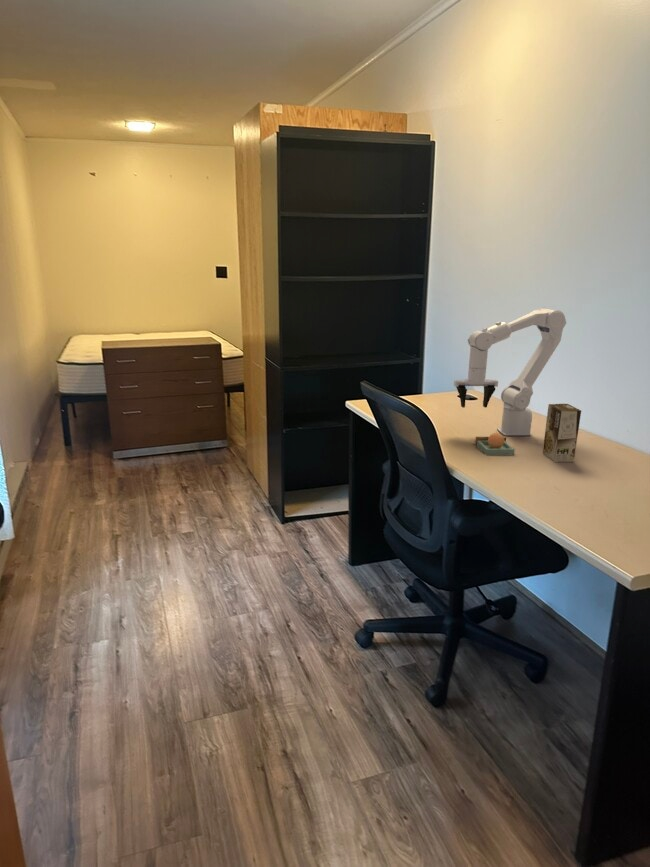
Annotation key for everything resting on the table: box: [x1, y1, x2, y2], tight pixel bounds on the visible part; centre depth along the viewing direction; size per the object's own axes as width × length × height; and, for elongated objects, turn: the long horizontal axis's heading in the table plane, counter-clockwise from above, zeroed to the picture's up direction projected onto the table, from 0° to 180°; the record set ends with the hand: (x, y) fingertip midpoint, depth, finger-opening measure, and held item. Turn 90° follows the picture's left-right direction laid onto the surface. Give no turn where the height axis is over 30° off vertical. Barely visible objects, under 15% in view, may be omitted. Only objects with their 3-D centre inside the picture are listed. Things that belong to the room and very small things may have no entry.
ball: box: [488, 432, 504, 449], centre depth 188 cm, size 5×5×5 cm
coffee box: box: [542, 403, 582, 463], centre depth 181 cm, size 9×6×16 cm
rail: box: [474, 436, 508, 446], centre depth 194 cm, size 10×1×2 cm, turn 94°
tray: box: [476, 440, 515, 456], centre depth 189 cm, size 9×9×2 cm
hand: (473, 406), depth 202 cm, fingers open, 7 cm apart
